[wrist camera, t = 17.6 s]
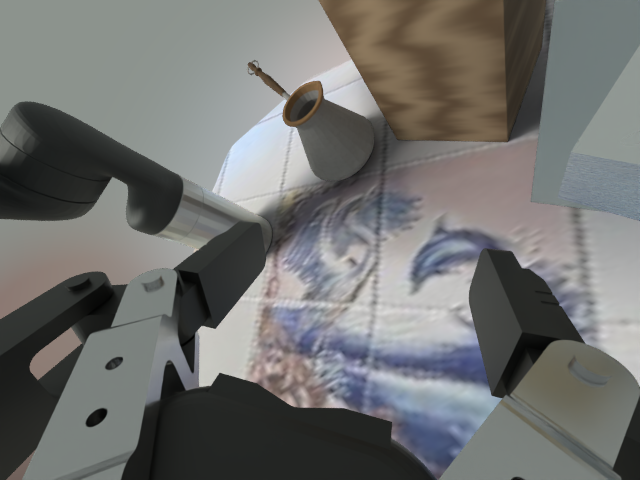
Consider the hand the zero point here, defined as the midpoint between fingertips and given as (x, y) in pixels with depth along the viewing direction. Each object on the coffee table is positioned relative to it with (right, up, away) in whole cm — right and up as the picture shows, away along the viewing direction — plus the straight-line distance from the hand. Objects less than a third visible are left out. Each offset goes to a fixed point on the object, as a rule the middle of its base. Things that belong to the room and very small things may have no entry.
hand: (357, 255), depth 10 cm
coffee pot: (+1, +17, +38) cm, 42 cm away
